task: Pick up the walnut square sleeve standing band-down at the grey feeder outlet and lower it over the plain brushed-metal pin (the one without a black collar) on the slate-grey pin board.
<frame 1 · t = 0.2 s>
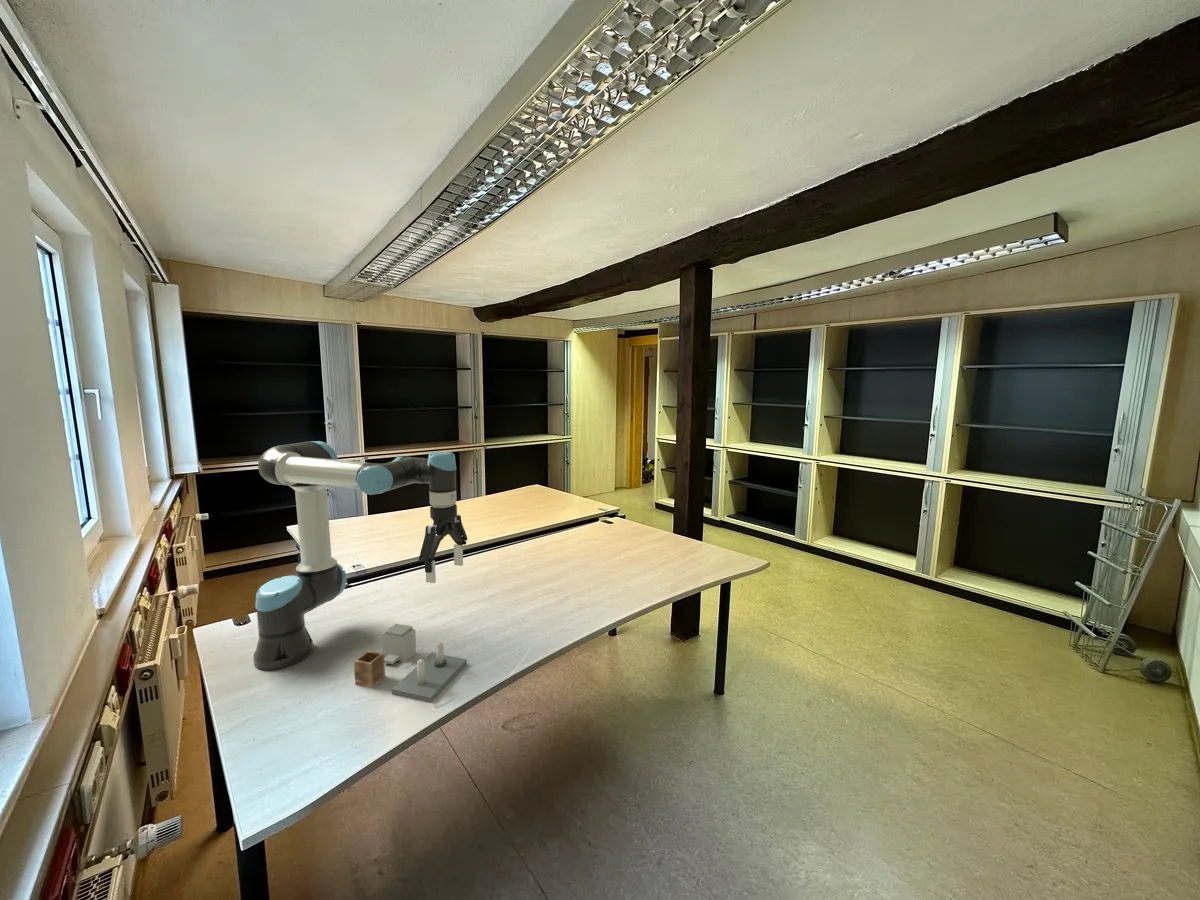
hand: (445, 573, 139), 27 cm above the table, fingers open, 13 cm apart
sleeve: (370, 680, 131), on the table
feeder: (399, 655, 143), on the table
pinboard: (431, 678, 132), on the table
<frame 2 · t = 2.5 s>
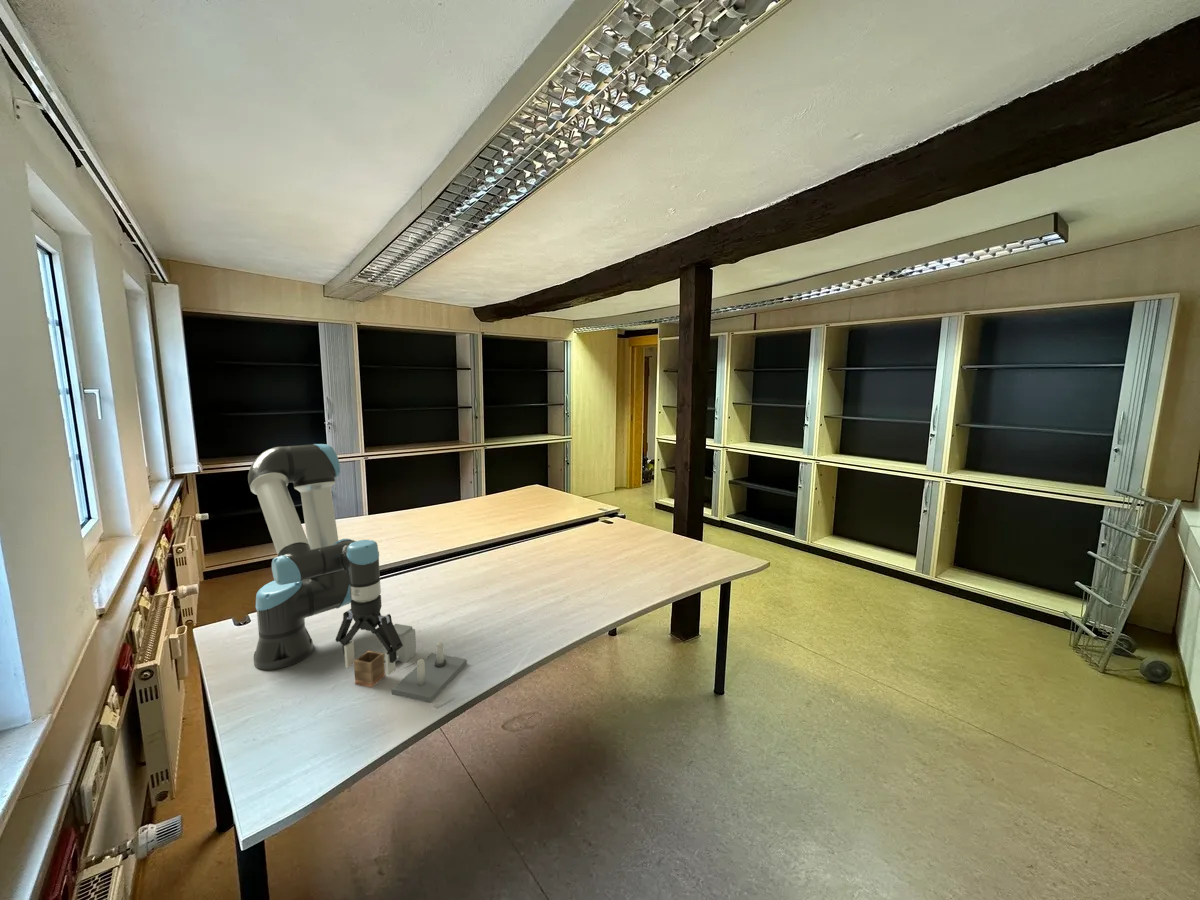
hand: (370, 668, 130), 4 cm above the table, fingers open, 13 cm apart
nothing on the table moved.
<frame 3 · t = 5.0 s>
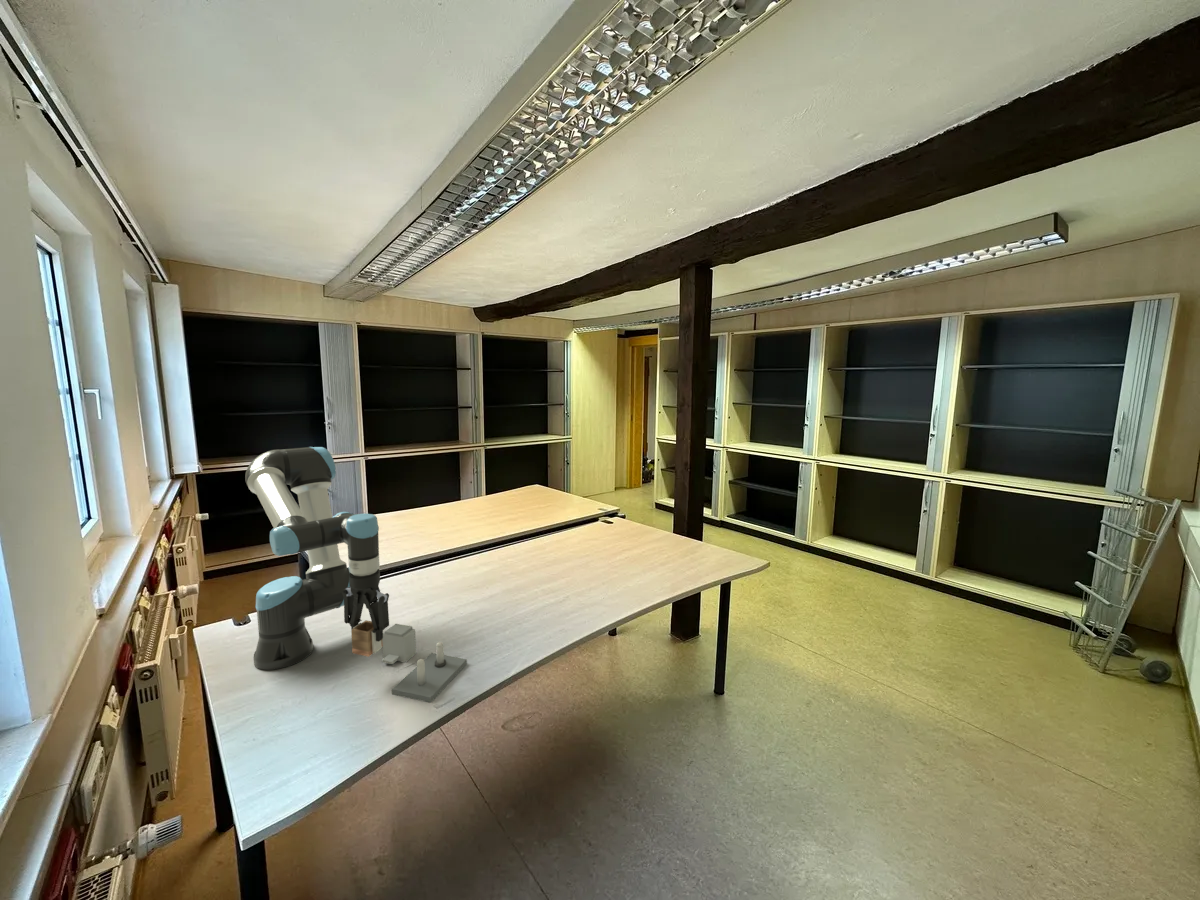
hand: (367, 648, 130), 9 cm above the table, fingers closed on sleeve, 5 cm apart
sleeve: (367, 649, 130), point 9 cm above the table, touching gripper
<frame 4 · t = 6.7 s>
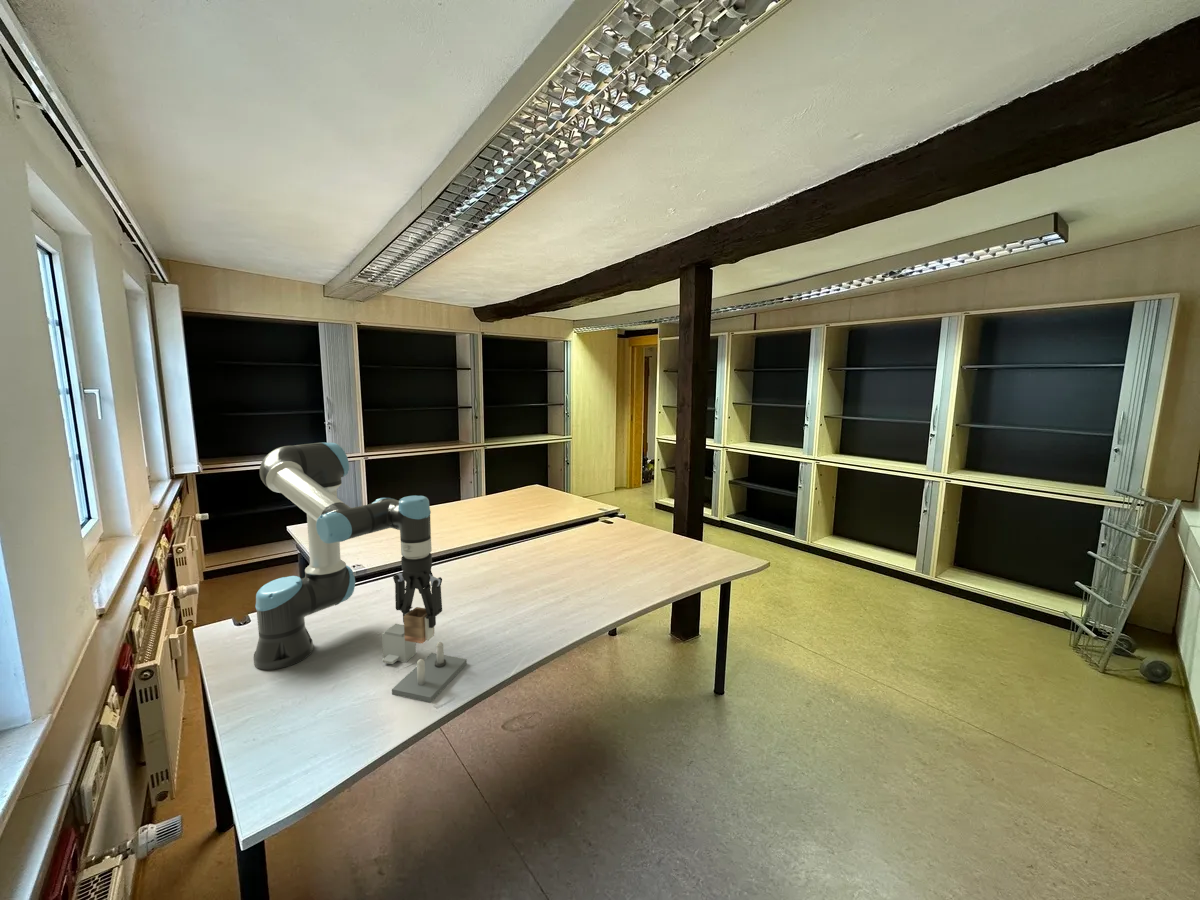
hand: (420, 636, 126), 15 cm above the table, fingers closed on sleeve, 5 cm apart
sleeve: (419, 637, 126), point 15 cm above the table, touching gripper
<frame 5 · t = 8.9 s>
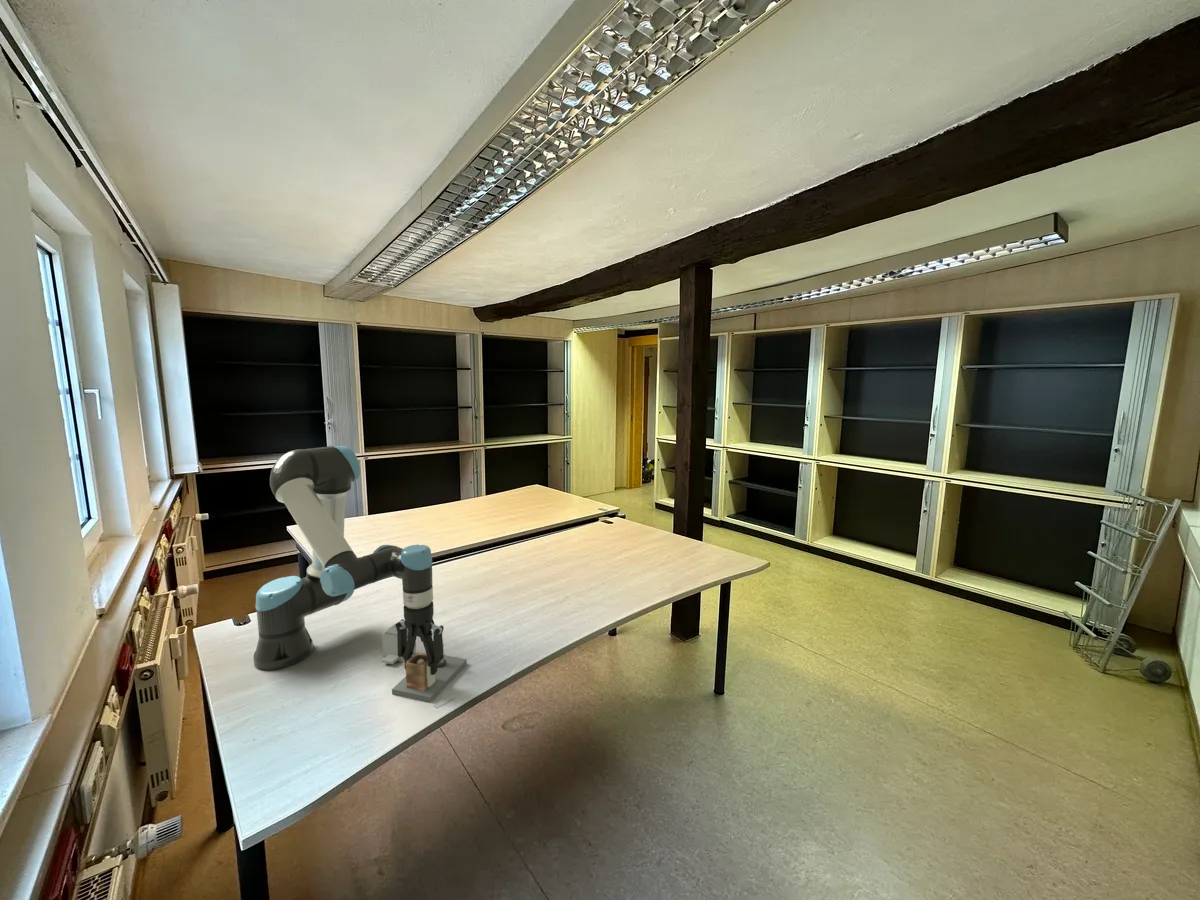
hand: (421, 682, 128), 2 cm above the table, fingers closed on sleeve, 5 cm apart
sleeve: (421, 683, 128), point 2 cm above the table, touching gripper, pinboard
when the fingers open (2 cm above the table, at t = 9.5 s): sleeve stays where it is, resting on pinboard.
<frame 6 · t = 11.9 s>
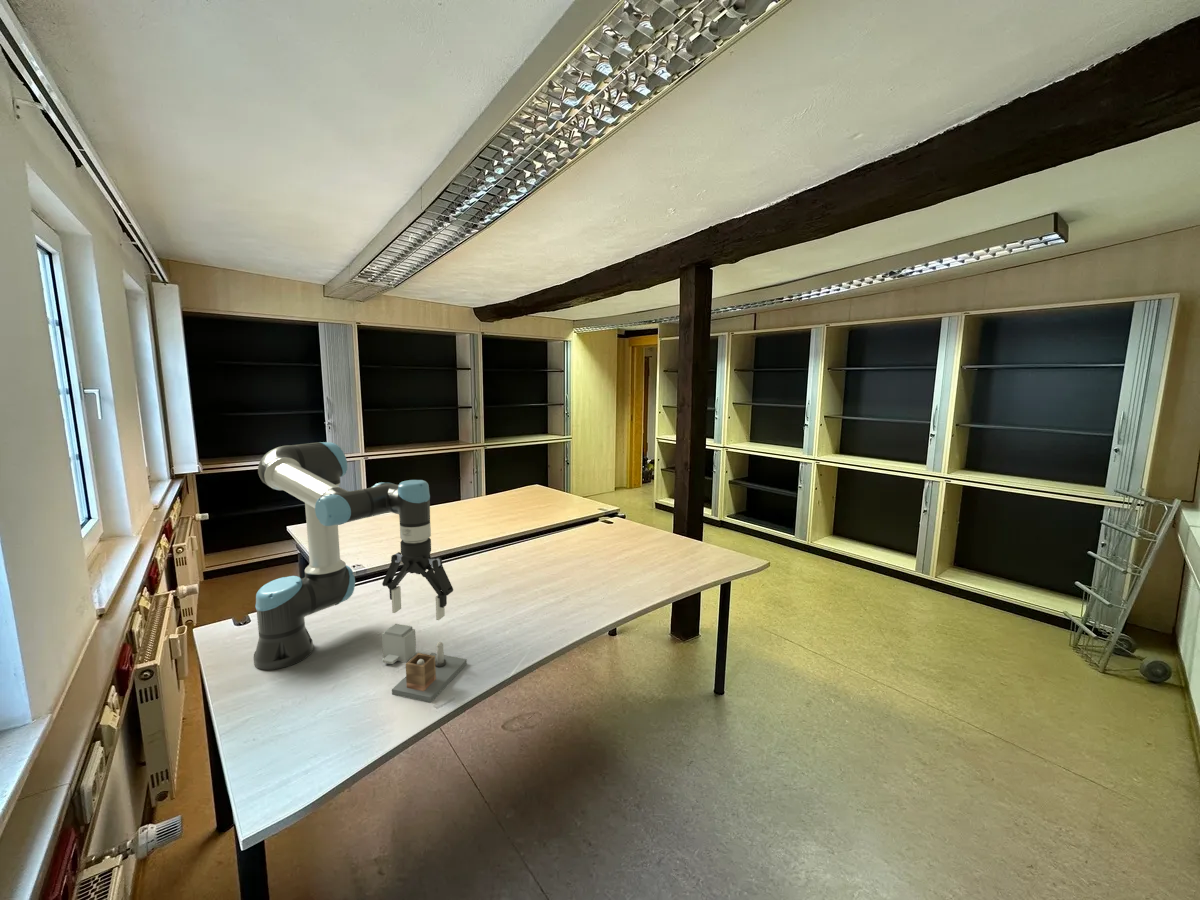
hand: (418, 614, 125), 22 cm above the table, fingers open, 13 cm apart
sleeve: (421, 683, 128), point 1 cm above the table, touching pinboard
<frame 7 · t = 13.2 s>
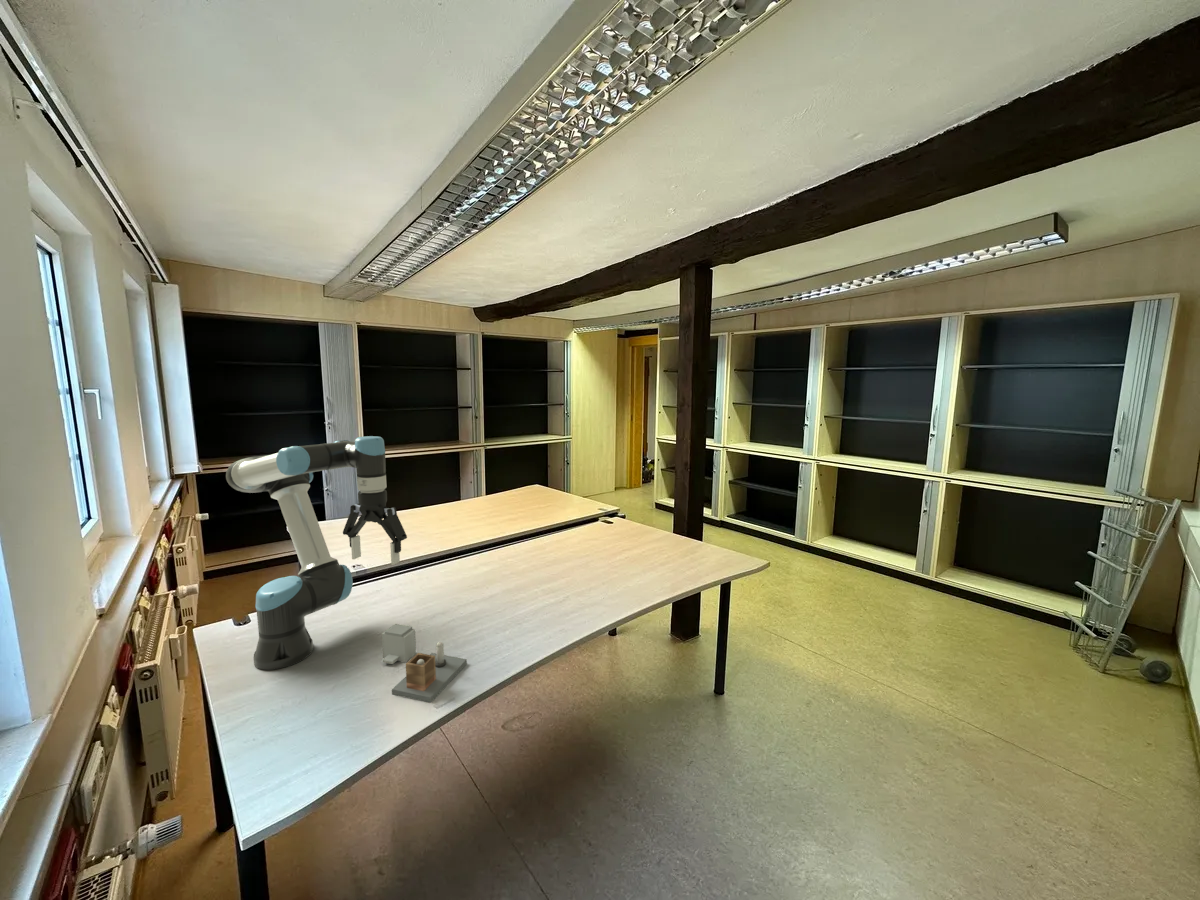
hand: (375, 560, 136), 32 cm above the table, fingers open, 13 cm apart
nothing on the table moved.
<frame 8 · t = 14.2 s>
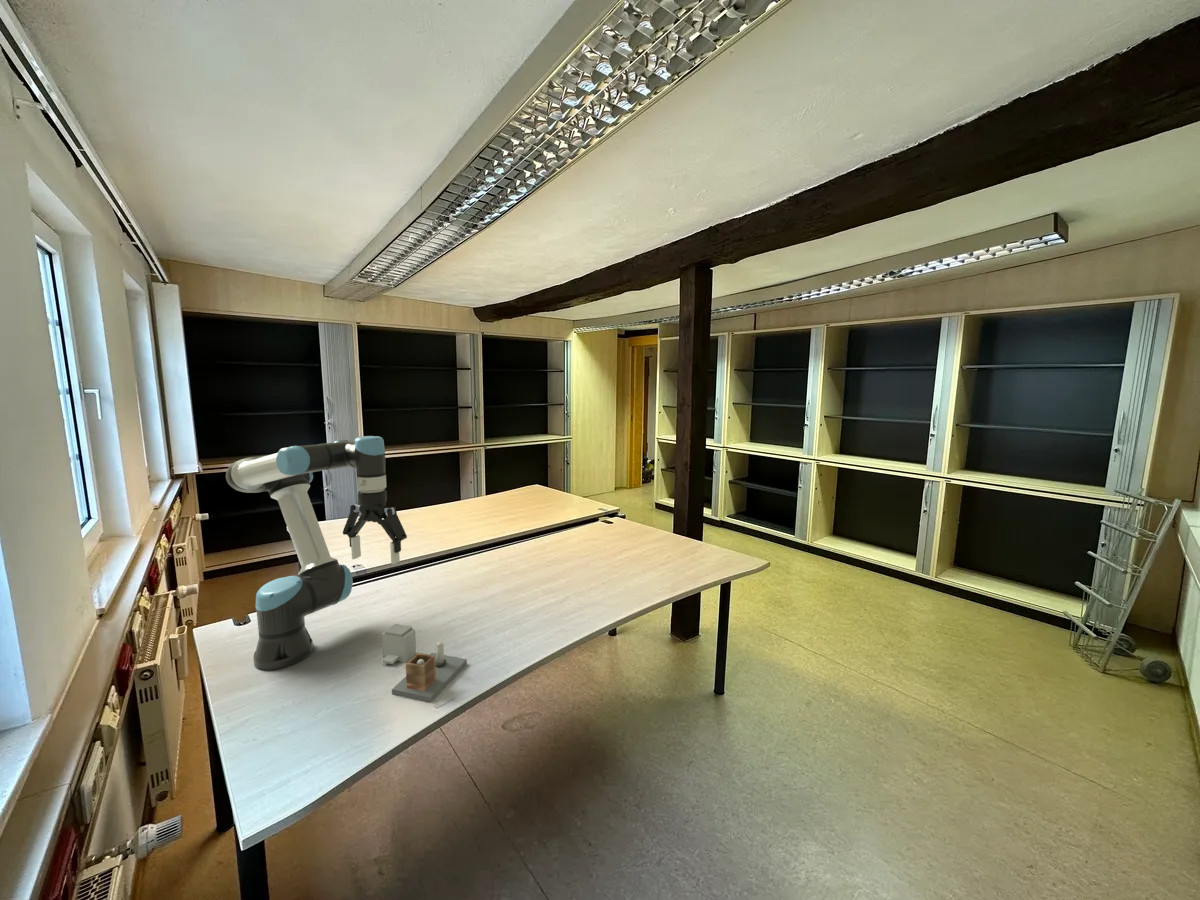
hand: (375, 560, 136), 32 cm above the table, fingers open, 13 cm apart
nothing on the table moved.
at the end: sleeve 0.1 cm from the target spot on the pinboard, point 1.5 cm above the pinboard's base; sleeve tilted 0°; the gripper is holding nothing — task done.
